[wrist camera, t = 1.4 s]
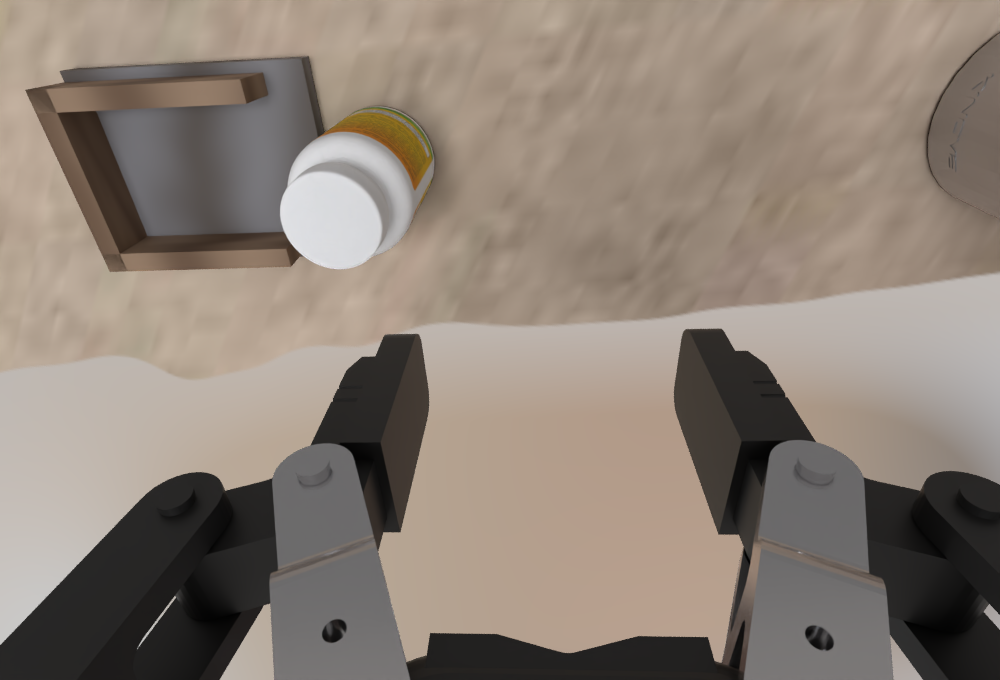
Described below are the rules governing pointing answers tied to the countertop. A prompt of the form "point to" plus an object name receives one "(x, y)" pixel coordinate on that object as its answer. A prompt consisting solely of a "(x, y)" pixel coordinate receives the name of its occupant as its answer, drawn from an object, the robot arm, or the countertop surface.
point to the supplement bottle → (357, 188)
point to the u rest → (183, 158)
